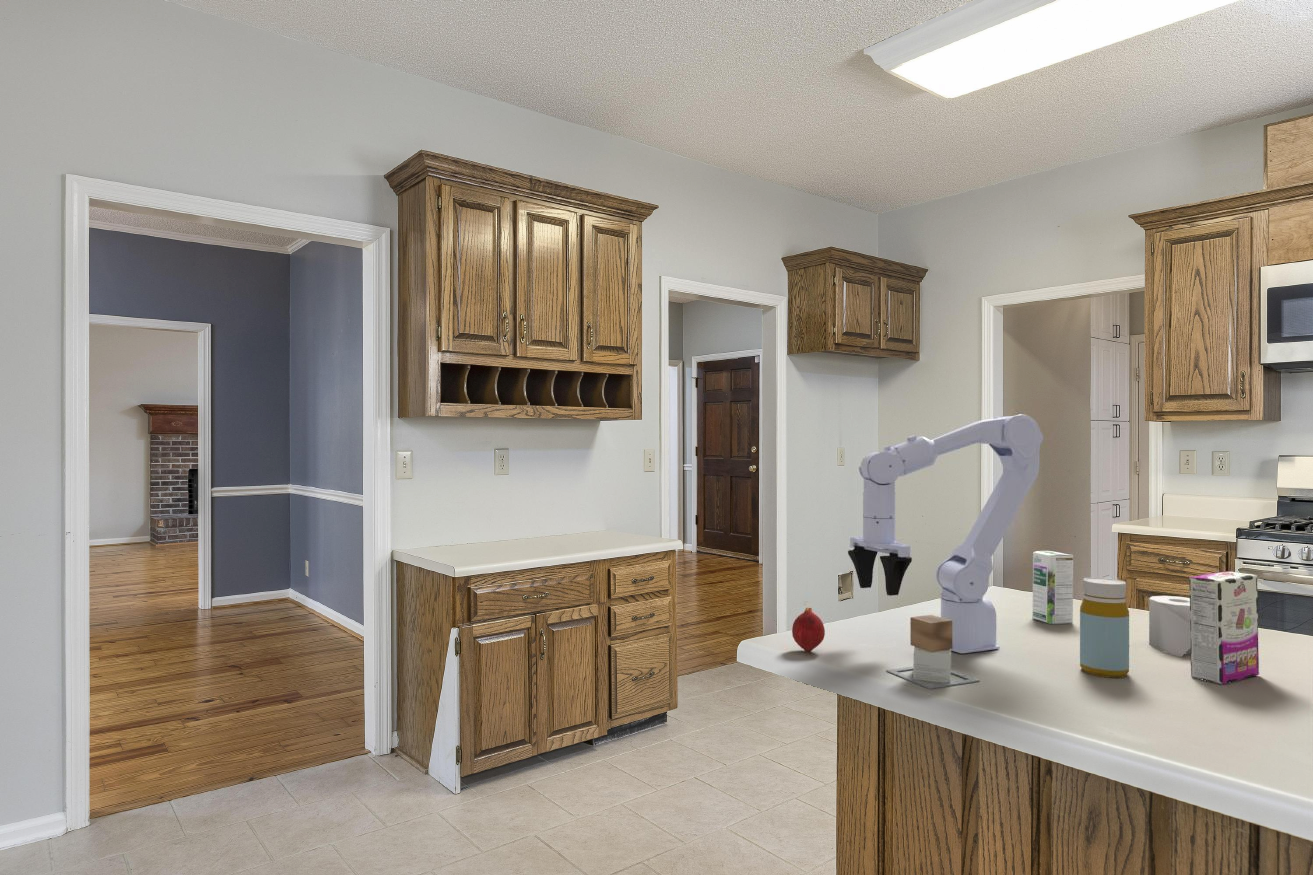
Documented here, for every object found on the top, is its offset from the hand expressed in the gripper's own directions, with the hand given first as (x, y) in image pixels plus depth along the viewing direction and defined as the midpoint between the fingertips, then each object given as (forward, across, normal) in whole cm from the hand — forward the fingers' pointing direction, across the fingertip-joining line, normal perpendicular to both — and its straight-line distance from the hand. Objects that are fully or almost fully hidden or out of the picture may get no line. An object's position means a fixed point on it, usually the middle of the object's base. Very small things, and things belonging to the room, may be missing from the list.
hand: (878, 591), depth 144 cm
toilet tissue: (+10, +22, +51) cm, 56 cm away
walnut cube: (+5, +18, -4) cm, 19 cm away
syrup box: (+10, -3, +48) cm, 49 cm away
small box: (+11, +18, -4) cm, 21 cm away
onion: (+10, -2, -14) cm, 18 cm away
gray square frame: (+10, +18, -4) cm, 21 cm away
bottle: (+10, +27, +24) cm, 38 cm away
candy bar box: (+10, +36, +40) cm, 55 cm away
